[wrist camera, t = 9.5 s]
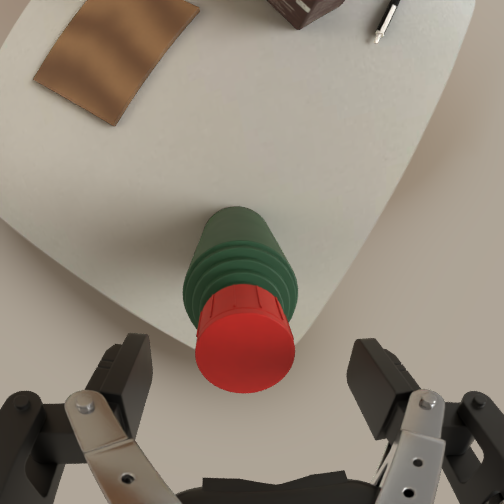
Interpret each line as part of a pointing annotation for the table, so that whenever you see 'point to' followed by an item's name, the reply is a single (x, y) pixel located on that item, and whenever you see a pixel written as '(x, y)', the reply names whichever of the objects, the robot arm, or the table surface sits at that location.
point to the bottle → (238, 262)
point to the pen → (386, 20)
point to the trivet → (112, 51)
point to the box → (304, 10)
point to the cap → (244, 340)
